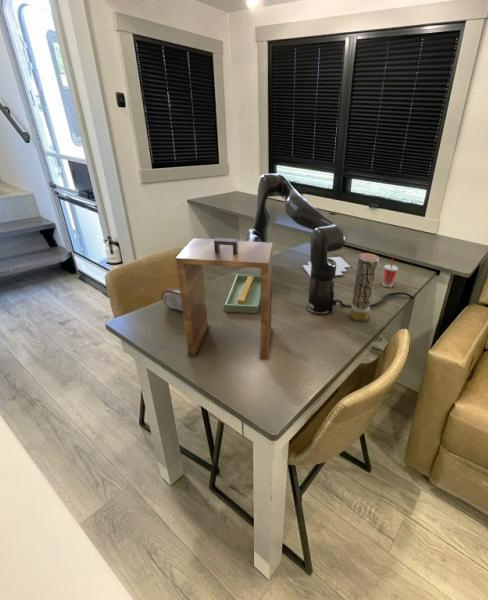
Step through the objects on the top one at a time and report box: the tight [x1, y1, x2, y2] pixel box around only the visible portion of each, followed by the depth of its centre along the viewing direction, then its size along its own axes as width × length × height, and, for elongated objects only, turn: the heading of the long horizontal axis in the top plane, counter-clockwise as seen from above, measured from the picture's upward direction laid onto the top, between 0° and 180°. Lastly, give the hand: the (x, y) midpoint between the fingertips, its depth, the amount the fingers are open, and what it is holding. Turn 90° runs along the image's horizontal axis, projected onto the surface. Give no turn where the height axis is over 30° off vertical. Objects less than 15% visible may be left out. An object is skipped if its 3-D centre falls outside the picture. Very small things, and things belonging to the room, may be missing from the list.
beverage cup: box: [382, 256, 399, 288], centre depth 150 cm, size 6×6×14 cm
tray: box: [224, 273, 261, 314], centre depth 136 cm, size 27×12×3 cm, turn 1°
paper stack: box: [302, 256, 351, 277], centre depth 167 cm, size 23×25×1 cm
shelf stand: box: [175, 237, 274, 360], centre depth 100 cm, size 24×16×36 cm, turn 91°
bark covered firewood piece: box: [349, 252, 380, 322], centre depth 121 cm, size 7×7×25 cm
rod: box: [238, 276, 254, 305], centre depth 137 cm, size 2×22×2 cm, turn 178°
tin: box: [161, 286, 183, 313], centre depth 121 cm, size 15×3×8 cm, turn 71°
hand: (247, 262), depth 136 cm, fingers open, 8 cm apart
